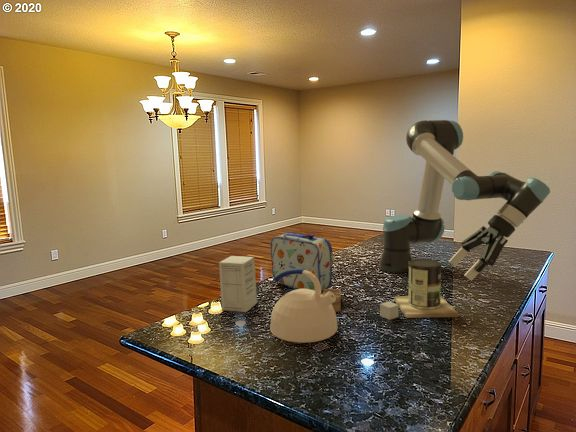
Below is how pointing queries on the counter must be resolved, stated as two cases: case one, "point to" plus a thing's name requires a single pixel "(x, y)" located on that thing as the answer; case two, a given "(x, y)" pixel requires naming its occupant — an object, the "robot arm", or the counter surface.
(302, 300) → the kettle
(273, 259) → the lunch box
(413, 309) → the maple board
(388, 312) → the beige tilted cube
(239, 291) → the supplement box
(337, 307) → the walnut block
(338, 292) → the oak block
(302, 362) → the counter surface
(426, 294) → the coffee can
